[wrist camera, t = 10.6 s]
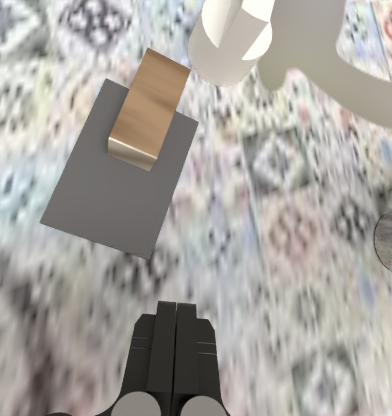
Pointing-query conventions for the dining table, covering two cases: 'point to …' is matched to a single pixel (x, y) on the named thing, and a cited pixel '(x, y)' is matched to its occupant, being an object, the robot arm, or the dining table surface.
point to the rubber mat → (117, 182)
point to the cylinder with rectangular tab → (229, 39)
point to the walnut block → (148, 110)
